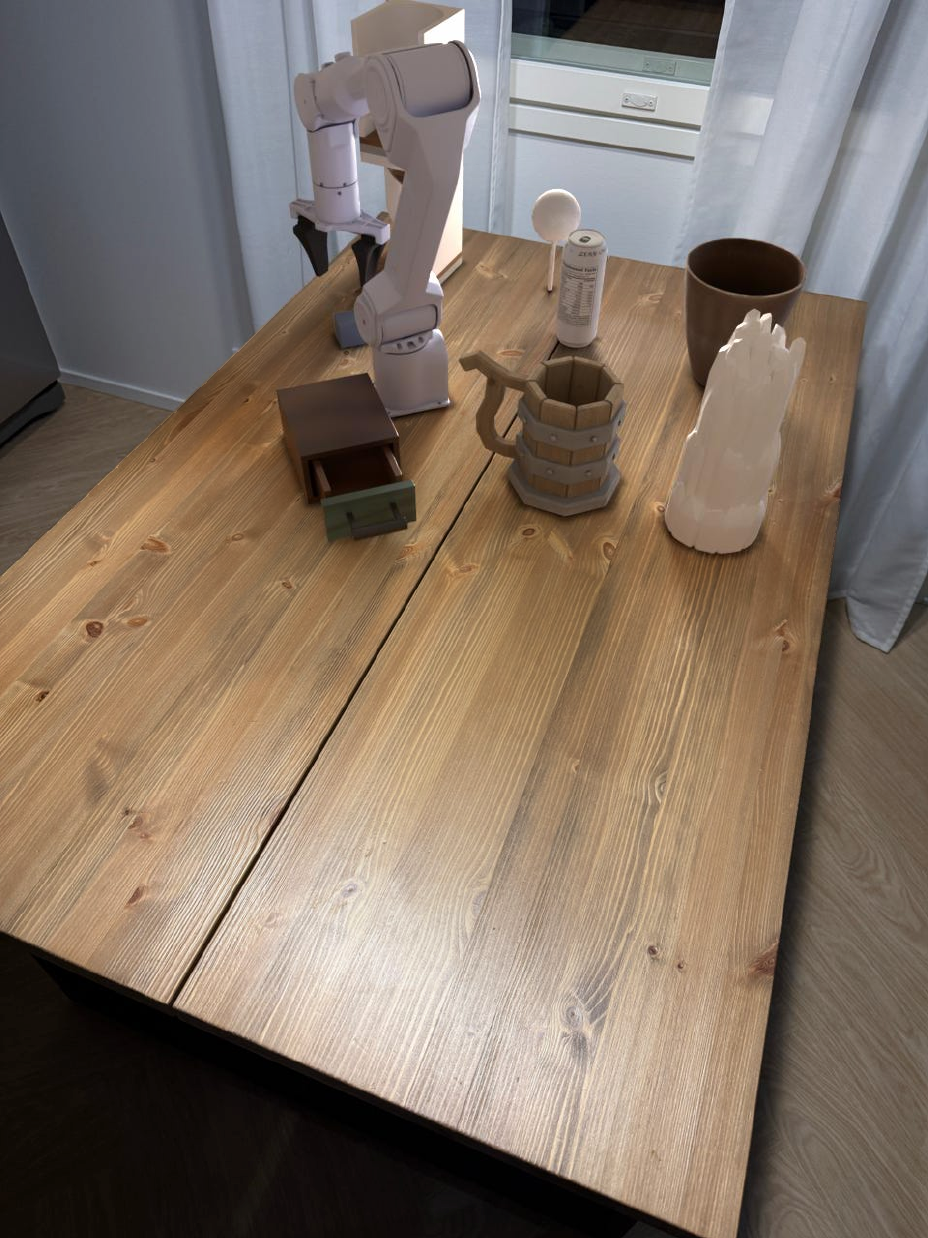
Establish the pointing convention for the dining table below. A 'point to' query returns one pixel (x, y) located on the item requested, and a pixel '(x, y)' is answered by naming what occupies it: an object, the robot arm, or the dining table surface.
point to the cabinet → (333, 422)
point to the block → (347, 329)
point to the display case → (372, 33)
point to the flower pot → (735, 293)
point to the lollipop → (555, 220)
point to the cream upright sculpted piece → (735, 440)
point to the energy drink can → (580, 287)
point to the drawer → (363, 493)
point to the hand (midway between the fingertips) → (344, 280)
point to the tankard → (556, 430)
